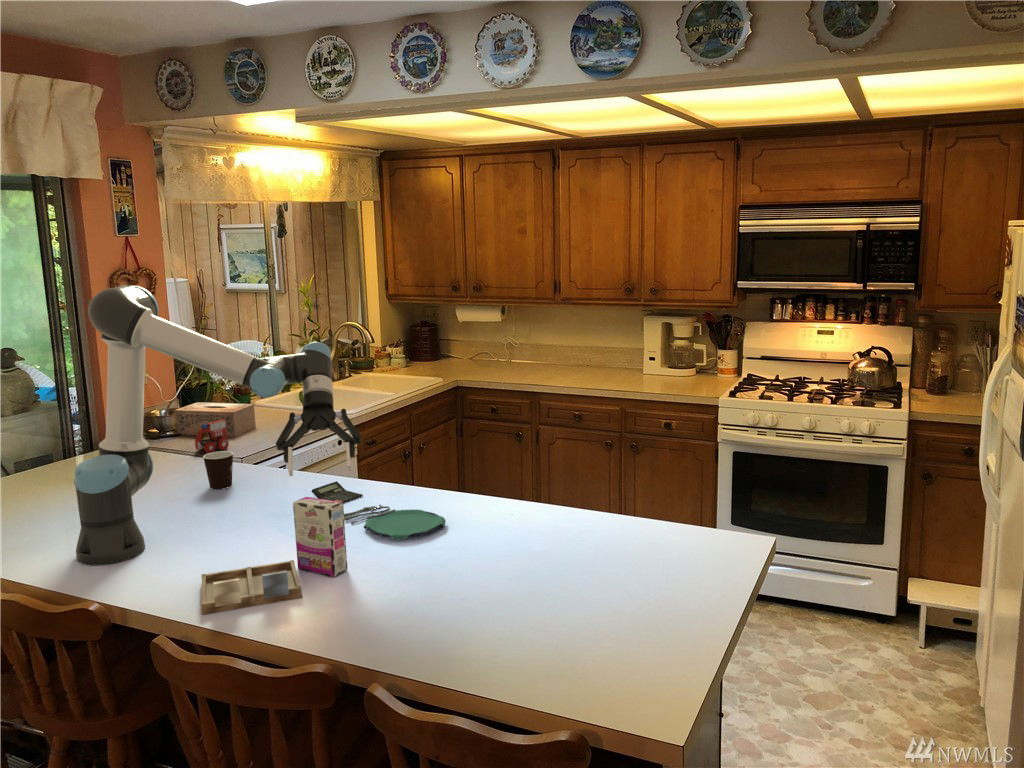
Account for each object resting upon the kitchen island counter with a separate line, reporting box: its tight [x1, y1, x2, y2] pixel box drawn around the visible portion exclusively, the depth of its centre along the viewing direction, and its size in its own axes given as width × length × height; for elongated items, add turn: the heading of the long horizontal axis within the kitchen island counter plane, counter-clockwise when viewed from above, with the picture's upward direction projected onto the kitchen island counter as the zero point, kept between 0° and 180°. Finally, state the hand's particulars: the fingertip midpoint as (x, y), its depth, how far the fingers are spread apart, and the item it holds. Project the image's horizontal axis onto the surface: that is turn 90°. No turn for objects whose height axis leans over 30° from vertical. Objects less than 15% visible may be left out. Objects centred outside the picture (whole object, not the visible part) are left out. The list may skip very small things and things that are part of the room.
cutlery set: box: [344, 504, 446, 541], centre depth 213 cm, size 20×30×2 cm, turn 45°
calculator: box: [311, 481, 364, 504], centre depth 235 cm, size 9×12×3 cm
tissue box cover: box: [174, 401, 257, 438], centre depth 318 cm, size 26×14×10 cm, turn 76°
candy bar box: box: [292, 496, 348, 578], centre depth 183 cm, size 11×5×16 cm, turn 62°
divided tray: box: [200, 559, 303, 616], centre depth 174 cm, size 20×16×6 cm
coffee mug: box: [202, 450, 234, 490], centre depth 248 cm, size 12×9×10 cm
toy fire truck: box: [194, 420, 229, 454], centre depth 290 cm, size 7×12×10 cm, turn 141°
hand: (320, 471), depth 191 cm, fingers open, 13 cm apart
